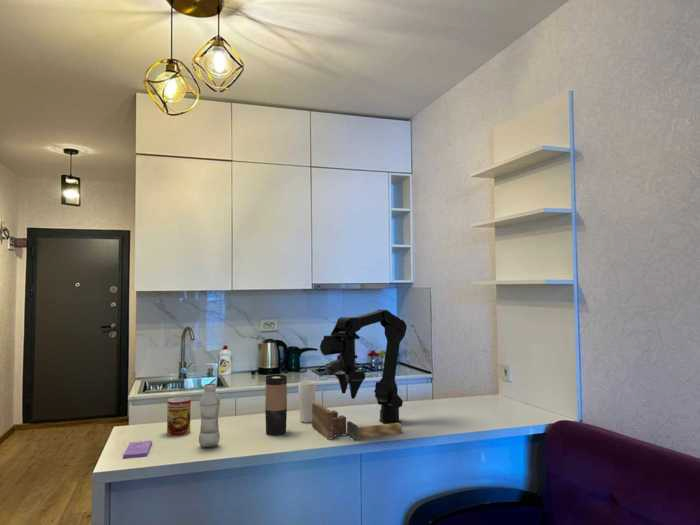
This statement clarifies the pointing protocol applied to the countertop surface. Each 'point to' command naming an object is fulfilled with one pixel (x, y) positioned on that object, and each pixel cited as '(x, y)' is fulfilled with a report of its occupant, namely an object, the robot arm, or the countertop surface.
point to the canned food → (178, 416)
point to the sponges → (137, 449)
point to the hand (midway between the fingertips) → (348, 395)
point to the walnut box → (327, 421)
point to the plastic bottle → (209, 417)
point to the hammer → (372, 430)
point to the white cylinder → (306, 399)
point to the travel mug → (276, 404)
